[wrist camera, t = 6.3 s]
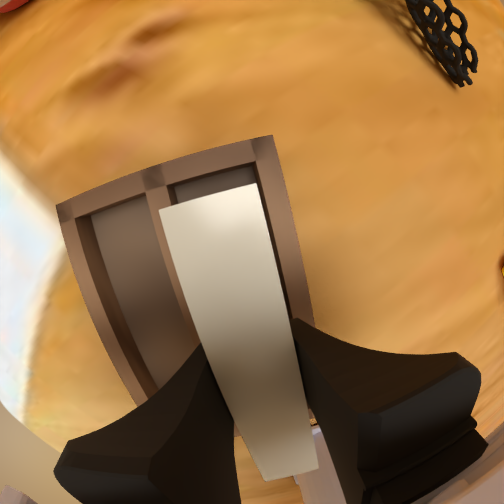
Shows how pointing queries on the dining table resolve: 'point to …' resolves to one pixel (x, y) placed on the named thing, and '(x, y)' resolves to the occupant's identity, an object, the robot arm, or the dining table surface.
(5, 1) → the citrus juicer
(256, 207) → the clay strip
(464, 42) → the decorative element
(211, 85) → the dining table surface
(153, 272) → the rack
